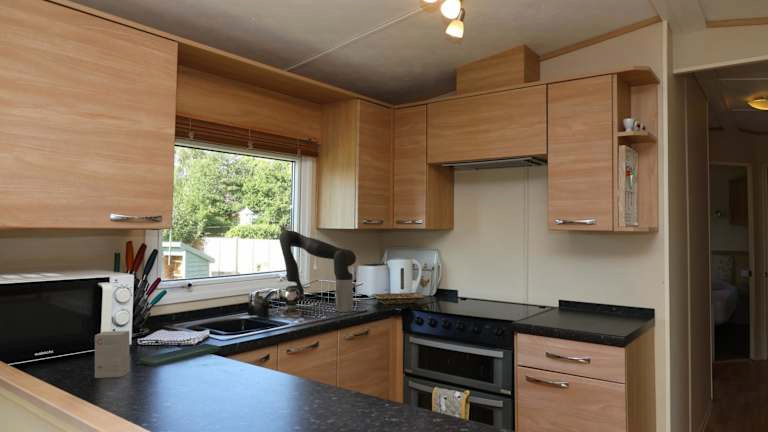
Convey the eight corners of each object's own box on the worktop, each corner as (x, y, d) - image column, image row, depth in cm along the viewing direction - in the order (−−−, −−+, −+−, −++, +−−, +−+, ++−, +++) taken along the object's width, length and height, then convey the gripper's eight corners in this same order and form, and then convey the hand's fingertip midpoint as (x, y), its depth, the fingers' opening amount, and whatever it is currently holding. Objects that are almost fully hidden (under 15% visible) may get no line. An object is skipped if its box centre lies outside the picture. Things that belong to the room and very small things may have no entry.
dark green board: (154, 368, 170) (154, 361, 170) (138, 364, 175) (138, 357, 175) (221, 352, 191) (221, 346, 191) (205, 349, 196) (205, 343, 196)
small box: (129, 371, 165) (130, 330, 165) (121, 377, 158) (122, 334, 159) (103, 372, 164) (103, 331, 164) (93, 378, 158) (94, 335, 158)
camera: (244, 315, 272) (244, 296, 273) (262, 314, 276) (262, 295, 277) (251, 320, 256) (251, 300, 257) (270, 319, 260) (270, 299, 261)
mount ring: (300, 312, 275) (300, 309, 275) (299, 315, 266) (299, 312, 266) (283, 313, 274) (283, 310, 274) (281, 315, 265) (281, 312, 265)
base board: (301, 313, 275) (301, 312, 275) (300, 317, 265) (300, 315, 265) (282, 314, 274) (282, 312, 274) (280, 317, 264) (280, 316, 264)
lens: (296, 309, 273) (296, 290, 273) (296, 311, 268) (296, 291, 268) (285, 310, 272) (285, 290, 273) (285, 311, 267) (285, 291, 267)
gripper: (279, 288, 284) (276, 292, 267) (306, 288, 285) (304, 292, 268) (279, 302, 283) (276, 307, 267) (306, 302, 285) (304, 306, 268)
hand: (290, 299), depth 268 cm, fingers closed on lens, 5 cm apart
